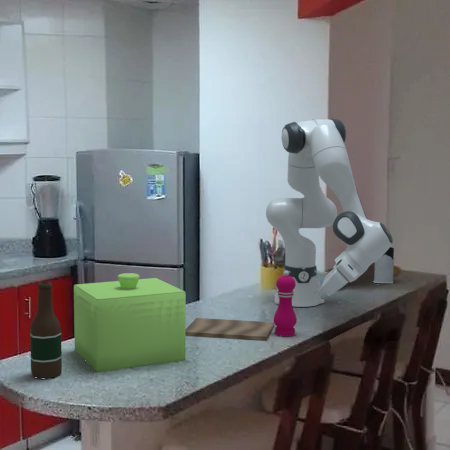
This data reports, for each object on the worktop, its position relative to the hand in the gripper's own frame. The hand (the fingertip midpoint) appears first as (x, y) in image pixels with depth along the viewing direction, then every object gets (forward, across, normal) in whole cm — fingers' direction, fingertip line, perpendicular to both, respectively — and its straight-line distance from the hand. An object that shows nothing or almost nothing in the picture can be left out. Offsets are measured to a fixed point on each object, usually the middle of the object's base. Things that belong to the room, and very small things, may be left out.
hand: (315, 296), depth 229 cm
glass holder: (-8, -95, +24) cm, 98 cm away
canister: (+44, +32, -26) cm, 60 cm away
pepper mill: (+15, 0, +2) cm, 16 cm away
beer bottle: (+55, +53, -36) cm, 85 cm away
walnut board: (+28, 0, -10) cm, 29 cm away
